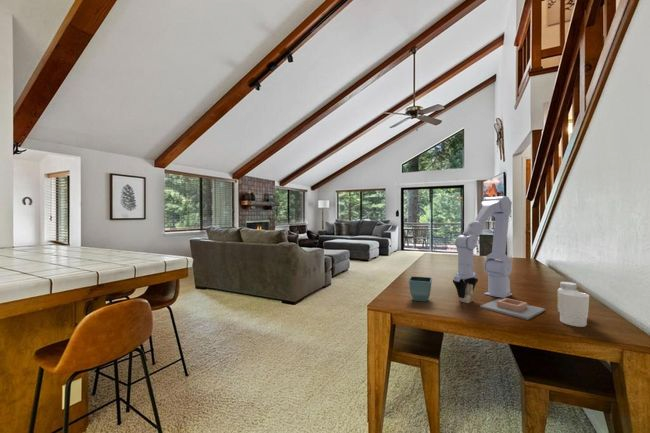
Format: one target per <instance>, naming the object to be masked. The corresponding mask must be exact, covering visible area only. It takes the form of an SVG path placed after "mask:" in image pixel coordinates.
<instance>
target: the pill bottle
mask: <svg viewBox="0 0 650 433" xmlns="http://www.w3.org/2000/svg"><path fill="white" fill-rule="evenodd" d="M559 285H560V287H559V288H557V292H558V291H560V290H569V291H577V292H580V291H579V290H578V289H577V288H578V285H577V283H575V282H571V281H560V284H559ZM556 298H557V301H556V302H557V304H556V305H557V306H556V307H557V312H558V313H560V312H559V298H558V296H557V297H556Z"/></svg>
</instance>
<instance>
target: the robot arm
mask: <svg viewBox="0 0 650 433" xmlns="http://www.w3.org/2000/svg"><path fill="white" fill-rule="evenodd" d="M480 203H481V204H480V206H481V208H480V210H479V212H478V214H477V216H476V218H475V219H474V221H470V222H469V223H468V225H467V226H466V228H465V229H464V230H463V232H462V234H459V235H458V236H457V237H456V238H455V240H454V245H455V247H456V252H457V253H458V254H457V259H458V260H457V266H458V267H457V269H458V270H457V272H455V275H453V279H452V283H453V285H454V286H455V289H456V292H457V296H459V297H460V298H464V297H465V290H466V286H467V284H472V285H473V292H474V291H475V287H476V285H477V283H478V282H479V278H477V274H478V273H477V272H474V250H475V249H476V248H477V247H478V241H479V237H480V235H481V234H482V232H483V231H484V224H485V222H486V221H488V219H489V218H490V216H493V218H494V224H493V225H494V227H493V228H494V229H493V236H492V248H491V252H490V253H489V254H487V255H486V256H485V257H486V258H485V261H484V263H483V269H484V271H485V272H486V274H487V275H488V278H487V279H488V280H487V283H488V284H487V286H488V287H487V288H488V289H487V290H488V291H487V292H484V293H483V294H484V295H487V296H491V297H497V298H499V299H504V298H508V297H511V296H512V295H513V293H511V280H510V277H509V276H510V275H511V274H512V271H513V266H512V259H511V258H510V257H509V256H508V255H507V254H506V250H507V243H508V242H507V241H508V231H509V222H510V221H509V220H510V216H511V213H512V205H513V204H512V201H511V199H510V197H509V196H507V195H504V196H490V197H489V196H486V197H484V198H483V200H482V201H481V202H480Z"/></svg>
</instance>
